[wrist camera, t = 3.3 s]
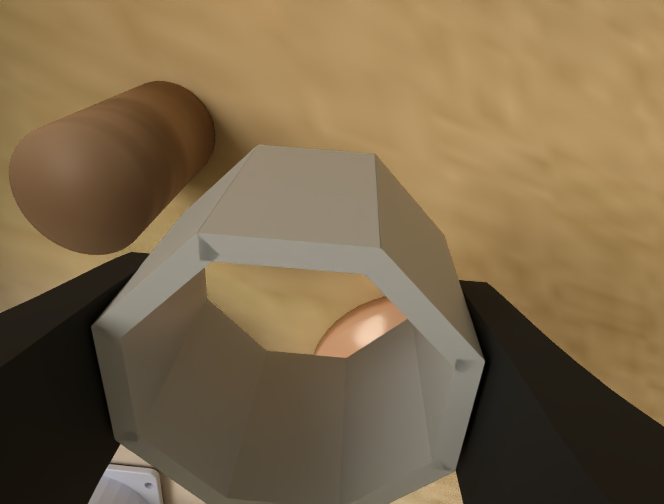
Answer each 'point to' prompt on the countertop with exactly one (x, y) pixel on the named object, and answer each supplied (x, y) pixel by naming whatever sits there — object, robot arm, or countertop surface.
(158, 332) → the grey sleeve
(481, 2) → the countertop surface
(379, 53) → the countertop surface
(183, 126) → the walnut peg
